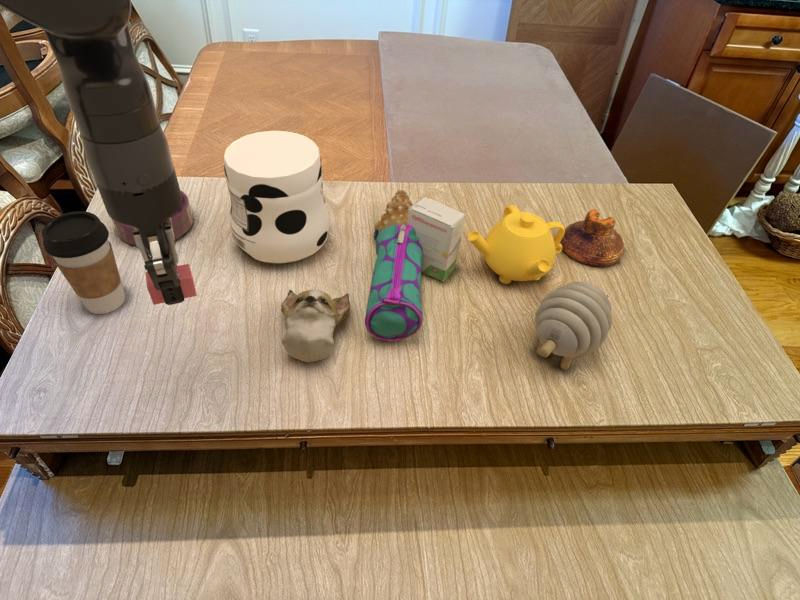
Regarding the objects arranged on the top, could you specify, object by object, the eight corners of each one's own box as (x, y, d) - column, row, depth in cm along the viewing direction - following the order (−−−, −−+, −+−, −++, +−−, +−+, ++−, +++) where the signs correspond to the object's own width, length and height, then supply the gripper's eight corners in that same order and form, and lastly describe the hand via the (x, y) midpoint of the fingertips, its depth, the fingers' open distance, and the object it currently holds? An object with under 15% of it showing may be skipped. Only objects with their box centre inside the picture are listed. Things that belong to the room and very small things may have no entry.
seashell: (369, 237, 106) (376, 186, 103) (409, 242, 108) (416, 191, 105) (375, 246, 97) (383, 190, 95) (419, 251, 99) (427, 196, 96)
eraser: (153, 305, 65) (146, 286, 63) (151, 290, 67) (145, 271, 64) (196, 296, 66) (191, 277, 64) (193, 281, 68) (188, 263, 66)
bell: (546, 236, 104) (556, 204, 99) (596, 224, 108) (608, 193, 102) (583, 274, 96) (596, 242, 91) (636, 259, 100) (650, 227, 95)
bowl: (119, 254, 94) (111, 234, 91) (116, 212, 102) (109, 192, 99) (198, 239, 98) (192, 219, 95) (189, 200, 106) (183, 180, 103)
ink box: (401, 263, 96) (406, 208, 87) (416, 249, 99) (422, 194, 91) (443, 283, 93) (452, 227, 84) (457, 267, 96) (467, 212, 88)
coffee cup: (77, 326, 82) (35, 248, 71) (75, 290, 87) (36, 213, 76) (136, 311, 84) (104, 235, 74) (131, 278, 90) (101, 202, 79)
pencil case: (373, 257, 97) (374, 213, 90) (422, 261, 97) (427, 217, 90) (362, 345, 82) (363, 300, 75) (420, 349, 82) (426, 304, 75)
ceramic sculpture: (262, 328, 71) (283, 261, 82) (268, 372, 77) (287, 303, 88) (343, 333, 71) (352, 265, 83) (343, 376, 77) (352, 307, 88)
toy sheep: (612, 331, 86) (636, 280, 79) (572, 401, 76) (596, 350, 68) (551, 303, 90) (568, 251, 83) (505, 366, 80) (521, 314, 72)
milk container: (341, 221, 104) (338, 134, 91) (315, 279, 92) (308, 189, 79) (255, 208, 106) (241, 121, 93) (218, 264, 93) (196, 173, 81)
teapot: (459, 273, 95) (468, 222, 87) (493, 235, 103) (504, 185, 95) (535, 308, 89) (552, 256, 82) (564, 265, 98) (582, 214, 90)
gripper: (92, 141, 58) (137, 264, 70) (93, 213, 49) (145, 340, 61) (166, 132, 60) (198, 252, 72) (180, 199, 51) (213, 324, 63)
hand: (173, 292), depth 66 cm, fingers closed on eraser, 2 cm apart
